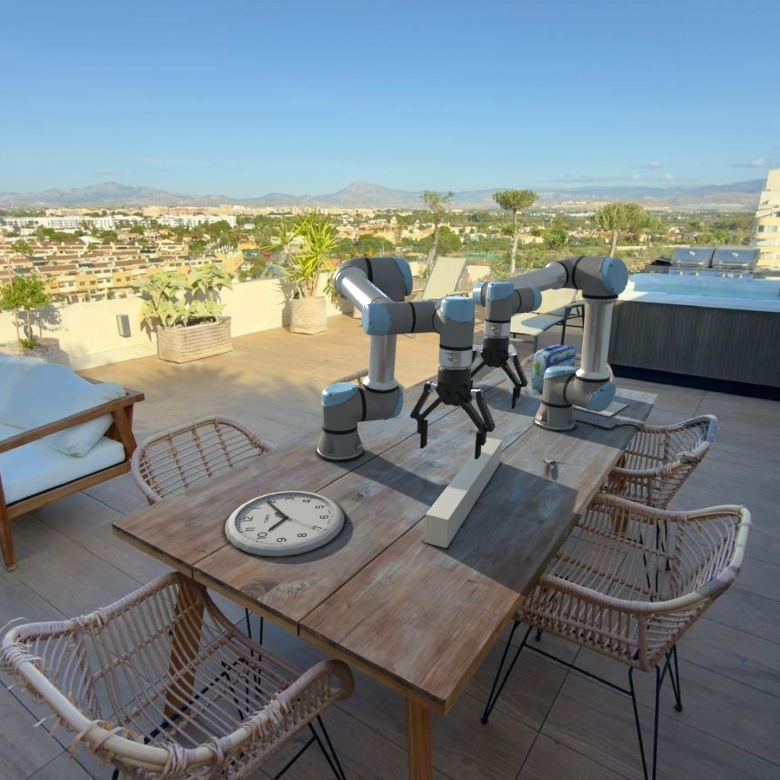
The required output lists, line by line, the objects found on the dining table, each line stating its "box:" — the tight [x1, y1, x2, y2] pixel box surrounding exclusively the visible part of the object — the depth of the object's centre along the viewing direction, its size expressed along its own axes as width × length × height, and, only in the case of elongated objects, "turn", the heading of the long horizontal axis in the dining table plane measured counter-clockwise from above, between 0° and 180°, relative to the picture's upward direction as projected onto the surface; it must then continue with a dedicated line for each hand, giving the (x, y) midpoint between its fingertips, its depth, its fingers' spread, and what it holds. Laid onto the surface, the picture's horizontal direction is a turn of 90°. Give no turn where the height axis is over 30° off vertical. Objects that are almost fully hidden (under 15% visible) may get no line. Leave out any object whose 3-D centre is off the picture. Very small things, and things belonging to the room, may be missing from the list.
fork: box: [544, 451, 555, 476], centre depth 168 cm, size 3×16×2 cm, turn 160°
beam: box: [424, 436, 503, 549], centre depth 148 cm, size 54×6×8 cm, turn 155°
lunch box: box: [530, 344, 577, 392], centre depth 247 cm, size 26×11×21 cm, turn 134°
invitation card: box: [573, 400, 629, 418], centre depth 226 cm, size 21×1×15 cm
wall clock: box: [224, 490, 345, 557], centre depth 134 cm, size 30×2×30 cm
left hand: (449, 451), depth 125 cm, fingers open, 13 cm apart
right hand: (491, 404), depth 159 cm, fingers open, 13 cm apart
